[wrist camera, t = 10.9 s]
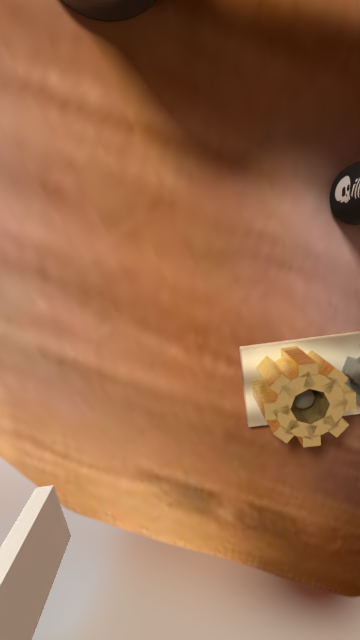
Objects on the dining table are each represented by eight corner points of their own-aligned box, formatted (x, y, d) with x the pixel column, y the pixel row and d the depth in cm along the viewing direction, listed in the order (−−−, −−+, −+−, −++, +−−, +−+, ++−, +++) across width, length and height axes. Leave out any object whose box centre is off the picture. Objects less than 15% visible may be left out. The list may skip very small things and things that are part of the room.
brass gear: (248, 351, 38) (261, 370, 32) (328, 341, 38) (355, 358, 32) (255, 422, 40) (267, 451, 34) (330, 413, 40) (356, 441, 34)
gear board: (239, 346, 39) (248, 361, 34) (419, 323, 38) (455, 334, 33) (246, 422, 41) (255, 445, 36) (416, 401, 41) (449, 423, 36)
